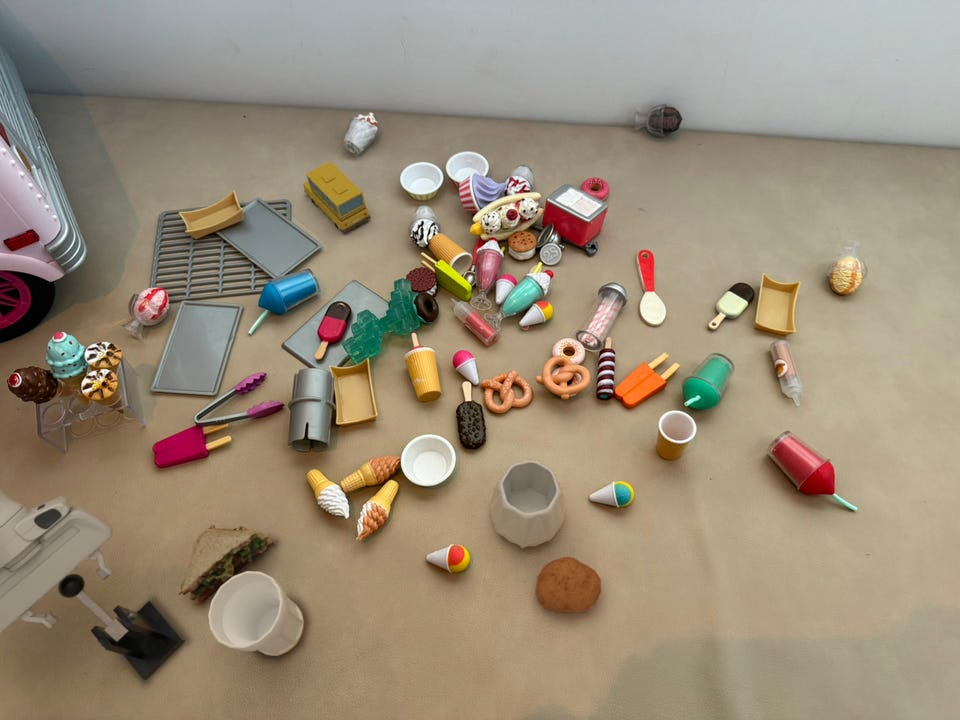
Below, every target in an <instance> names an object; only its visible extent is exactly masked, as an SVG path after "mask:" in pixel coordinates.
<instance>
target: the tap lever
mask: <svg viewBox="0 0 960 720" xmlns="http://www.w3.org/2000/svg"><path fill="white" fill-rule="evenodd" d="M57 585H58V587H57V591H58V593H59V595H60V596H62V597H63V598H67V599H72V598H76V599H78V600H79V601H80V602H81V603H82V604H83V605H84V606H85V607H87V609H89V610H90V611H91V612H92V613H93V615H95V616H96V617H97V618H98V619H99V620H100V621H101V622H102V623H104V624H105V626H106V627H104V628H105V629H104V631H105V632H106V633H108V634H109V635H110V636H111V637H112V638H113V639H114V640H115V641H116V642H117V641H118V640H119V639H120V638H122V637H123V636H124V635H125V634H126V633H127V632H128V631H129V630H130V629H128V628H127V627H126V626H125V625H124V623H123V622H122V621H121V620H120V618H119V617H118V616H117V617H116V618H114V617H113V616H111V615H110V614H109V613H108V612H107V611H106V610H105V609H104V608H103V607H102V606H101V605H100V604H99V603H98V602H96V601H95V600H94V598H93V597H91V596H90V595H89V594H88V593H87V592H86V591H85V587H86V582H85V579H84V577H83V576H82V575H80V574H77V573H69V574H68V575H67V576H66V577H65V578H64V579H62V580H61V581H60V582H59V583H58V584H57Z"/></svg>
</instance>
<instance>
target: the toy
mask: <svg viewBox="0 0 960 720" xmlns="http://www.w3.org/2000/svg"><path fill="white" fill-rule="evenodd" d="M305 176H306V178H307V181H305V182H303V183H302V185H303V188H304V193H305V194H306V195H307V196H308V197H309V198H310V200H311V202H312V204H313V205H315V206H318V207H319V208H320V209H321V211H323V212H324V214H325V215H326V216H327V217H328V218H329V219H330V220H331V221H332V223H333V224H334V226H335V228H336V229H338V230H341V232H342V234H346V233H348V232H349V231H351V230H353V229H354V228H357V227H358V226H360V225H361V224H364V223H365V222H367V221H369V220H370V219H371V214H369V210H368V208H367V206H366V202H365V197H364V194H363V191H362V190H361V189H360V188H359V187H358V186H357V185H356V184H355V183H353V182H352V180H351V179H350V178H349V177H348V176H346V175H345V174H344V173H343V171H341V170H340V169H339V168H338V167H337V166H336V165H335V164H334V163H333V162H332V161H331V160H330V161H328V162H326V163H324V164H322V165H320V166H318V167H316V168H314V169H312V170H310V171H308V172H307V173H305Z"/></svg>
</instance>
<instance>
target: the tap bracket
mask: <svg viewBox="0 0 960 720" xmlns="http://www.w3.org/2000/svg"><path fill="white" fill-rule="evenodd" d="M112 611H113V613H114V614H115V615H116V616H117V617H119V618H120V620H121V621H122V622H123V623H124V625H125V626H126V627H127V628H128V629H130V630H129V631H128V632H127V633H126V634H125V635H124V636H123V637H122V638H120V639H119V640H118V641H117V642H116V641H115V640H114V639H113V638H112V637H111V636H110V635H109V634H108V633H106V632H105V631H104V629H105V628H106V627H102V626H99V625H94V626H93V627H92V628H91V629H90V632H91V633H92V634H93V636H94V637H95V638H96V640H97V643H98V645H99V646H101V647H102V648H103V649H104V650H105V651H108V652H111V653H116V654H120V655H123V656H124V657H125V658H126V660H127V661H128V663H129V664H130V665H131V666H132V667H133V669H134V670H135V672H136V673H137V674H138V675H139V676H140V677H141V679H142V680H147V679H149V677H150V676H151V675H152V674H153V673H155V671H157V669H159V668H160V666H161V665H163V663H164V662H165V661H167V659H168V658H170V657H171V656H172V655H173V654H174V653H175V651H177V650H178V649H179V648H180V646H181V645H183V644H184V643H185V641H186V640H185V638H183V636H182V635H181V634H180V633H179V631H178V630H177V629H176V628H175V627H174V625H173V624H172V623H171V622H170V621H169V619H168V618H167V617H166V616H165V615H164V614H163V613H162V611H161V610H160V609H159V608H158V606H156V604H155V603H154V602H153V601H151V600H148V601H147V602H146V603H145V604H144V605H142V607H141V608H140V609H139V610H138V611H134V610H131V609H129V608H127V607H124V606H121V605H119V604H117V605H116V606H115V607H114V608H113V609H112Z"/></svg>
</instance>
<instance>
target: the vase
mask: <svg viewBox="0 0 960 720" xmlns="http://www.w3.org/2000/svg"><path fill="white" fill-rule="evenodd" d="M565 506H566V505H565V495H564V492H563V489H562V487H561V484H560V482H559V481H558V477H557V473H556V472H555V470H554V469H552V468H551V467H549V466H547V465H546V464H543V463H542V462H540V461H538V460H536V459H527V460H522V461H516V462H514V463H511V464H510V465H508V466H507V468H506V469H505V472H504V473H503V474H502V475H501V476H500V477H499V479H498V480H497V482H496V483H495V485H494V488H493V490H492V494H491V497H490V501H489V515H490V518H491V521H492V523H493V526H494V529H495V533H497V534H498V535H500V536H502V537H503V538H504V539H506V540H507V541H508V542H509V543H512V544H515V545H517V546H519V548H521V549H525V548H526V547H537V546H539V545H541V544H544V543H546V542H550V541H552V540H553V538H554V537H555V535H556V534H557V532H558V531H559V529H560V528H561V526H562V525H563V522H564V519H565V517H566V507H565Z"/></svg>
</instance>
